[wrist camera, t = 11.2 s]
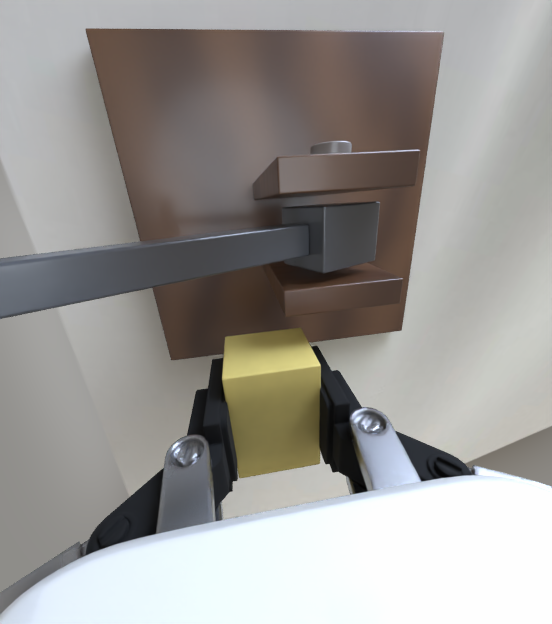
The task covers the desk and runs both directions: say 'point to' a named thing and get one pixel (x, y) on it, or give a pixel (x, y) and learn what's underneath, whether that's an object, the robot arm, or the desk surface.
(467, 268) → the desk surface
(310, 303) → the slicer
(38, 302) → the lever
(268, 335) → the butter
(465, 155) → the desk surface
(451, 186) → the desk surface
